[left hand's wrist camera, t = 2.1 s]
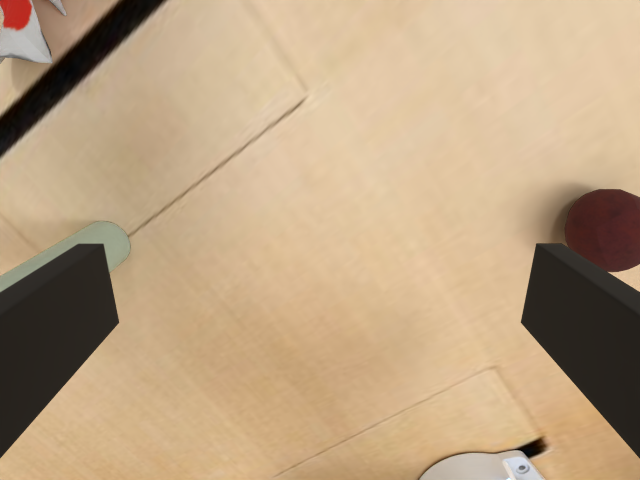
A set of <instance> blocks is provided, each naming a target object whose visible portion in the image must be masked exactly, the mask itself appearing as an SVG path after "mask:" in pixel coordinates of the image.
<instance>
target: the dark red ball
mask: <svg viewBox="0 0 640 480" xmlns="http://www.w3.org/2000/svg"><path fill="white" fill-rule="evenodd" d="M565 237H566V242H567V244H568V246H569V248H570V249H571V250H573V251H574V252H576V253H578V254H579V255H581V256H582V257H584V258H586V259H587V260H589V261H590V262H592V263H594V264H595V265H597V266H599V267H600V268H602V269H603V270H605V271H607V272H619V271H624V270H628V269H630V268H633V267H635V266H637V265H639V264H640V197H638V196H636V195H633V194H631V193H628V192H625V191H623V190H620V189H598V190H595V191H593V192H590V193H587V194H585V195H583V196H582V197H581V198H580V199H578V200H577V201H576V202H575V203H574V205H573V206H572V208H571V209H570V211H569V214H568V218H567V221H566V225H565Z"/></svg>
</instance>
